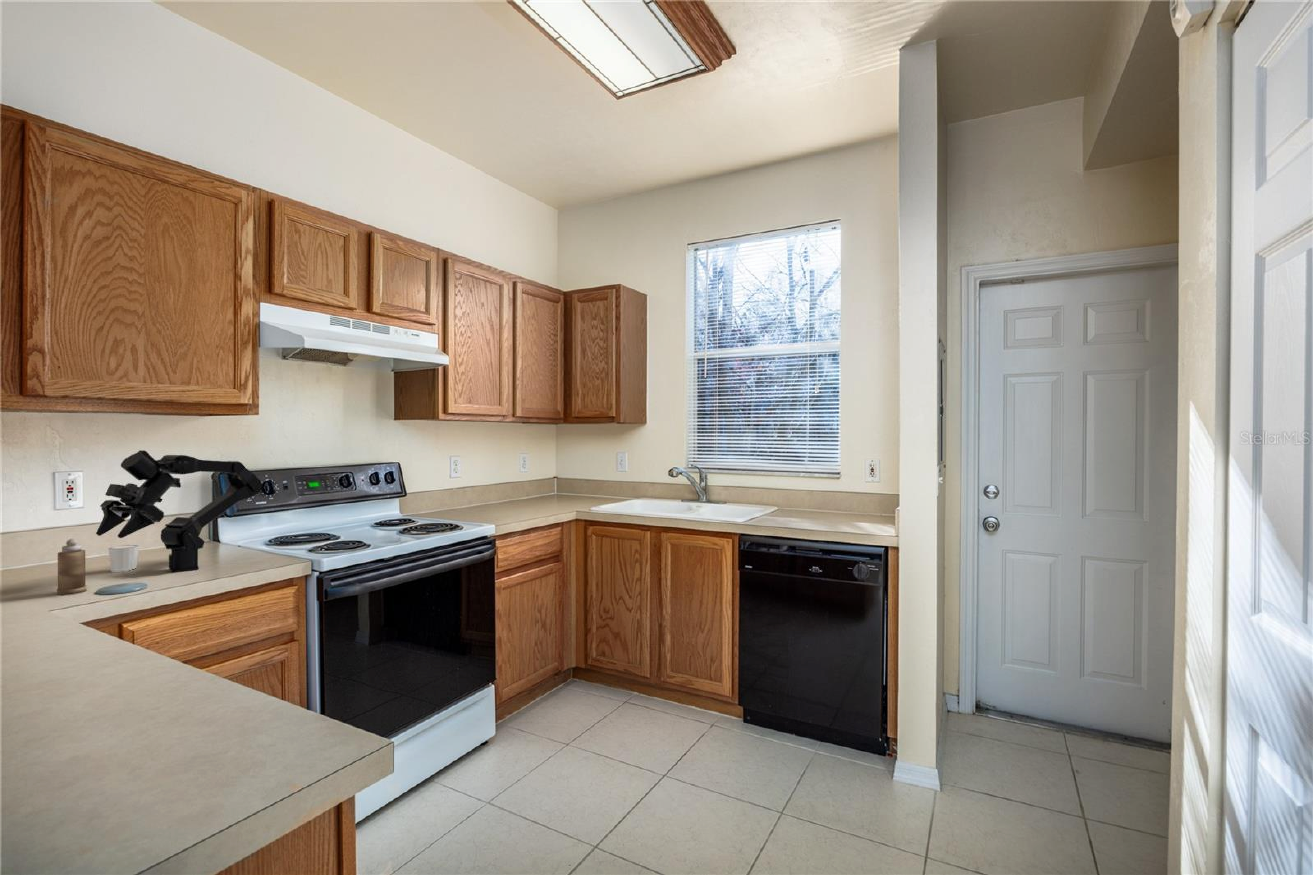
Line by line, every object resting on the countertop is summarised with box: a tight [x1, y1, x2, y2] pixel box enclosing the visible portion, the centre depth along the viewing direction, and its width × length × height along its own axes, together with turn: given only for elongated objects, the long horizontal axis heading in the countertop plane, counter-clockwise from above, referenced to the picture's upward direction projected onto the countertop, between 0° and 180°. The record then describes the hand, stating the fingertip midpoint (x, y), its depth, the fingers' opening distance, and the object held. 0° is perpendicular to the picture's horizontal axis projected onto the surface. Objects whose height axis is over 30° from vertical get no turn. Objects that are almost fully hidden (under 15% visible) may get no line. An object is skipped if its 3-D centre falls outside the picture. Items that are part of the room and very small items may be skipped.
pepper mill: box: [56, 538, 88, 596], centre depth 160 cm, size 6×6×14 cm
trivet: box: [96, 582, 148, 596], centre depth 163 cm, size 10×10×1 cm
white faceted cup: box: [107, 544, 140, 573], centre depth 185 cm, size 7×7×7 cm
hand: (108, 536), depth 167 cm, fingers open, 9 cm apart
